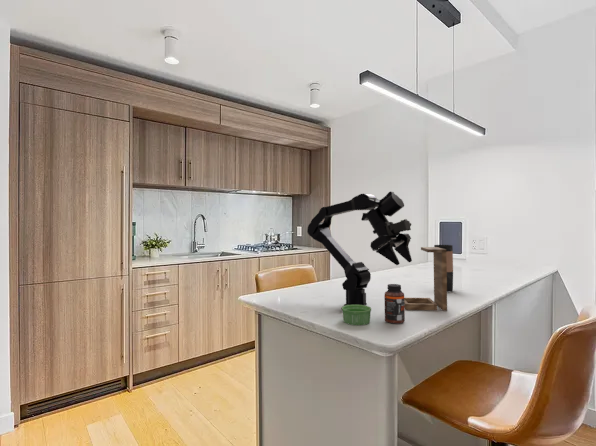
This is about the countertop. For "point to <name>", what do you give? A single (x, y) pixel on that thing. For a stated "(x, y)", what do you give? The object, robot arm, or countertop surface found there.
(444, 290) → the stand
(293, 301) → the countertop surface
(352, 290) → the robot arm
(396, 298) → the supplement bottle
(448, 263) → the travel mug
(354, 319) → the ramekin
